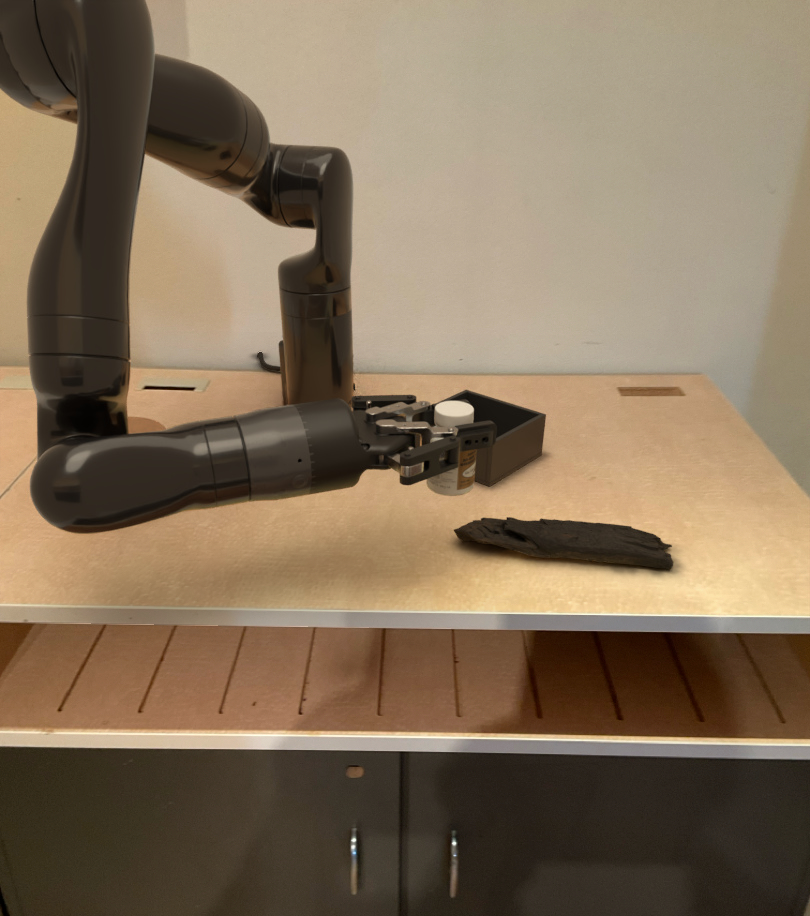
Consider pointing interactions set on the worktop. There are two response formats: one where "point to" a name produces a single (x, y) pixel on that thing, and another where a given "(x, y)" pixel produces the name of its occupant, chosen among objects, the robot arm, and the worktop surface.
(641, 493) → the worktop surface
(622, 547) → the wood
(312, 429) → the robot arm
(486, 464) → the open box
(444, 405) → the pill bottle
